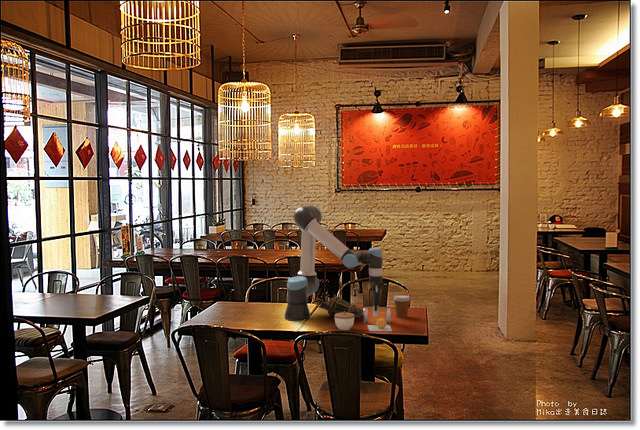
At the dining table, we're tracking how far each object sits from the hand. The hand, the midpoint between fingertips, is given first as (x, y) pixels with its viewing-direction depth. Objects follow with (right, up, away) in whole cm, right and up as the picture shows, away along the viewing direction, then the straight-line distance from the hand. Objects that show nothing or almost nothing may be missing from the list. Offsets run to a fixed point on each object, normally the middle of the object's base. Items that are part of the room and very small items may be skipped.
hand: (375, 315), depth 330 cm
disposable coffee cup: (+16, -2, +6) cm, 17 cm away
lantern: (-22, -2, +5) cm, 23 cm away
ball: (+1, 0, -21) cm, 21 cm away
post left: (-6, -2, -8) cm, 10 cm away
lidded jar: (-19, -3, -22) cm, 29 cm away
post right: (+6, -2, -8) cm, 10 cm away
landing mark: (0, -3, -21) cm, 21 cm away
